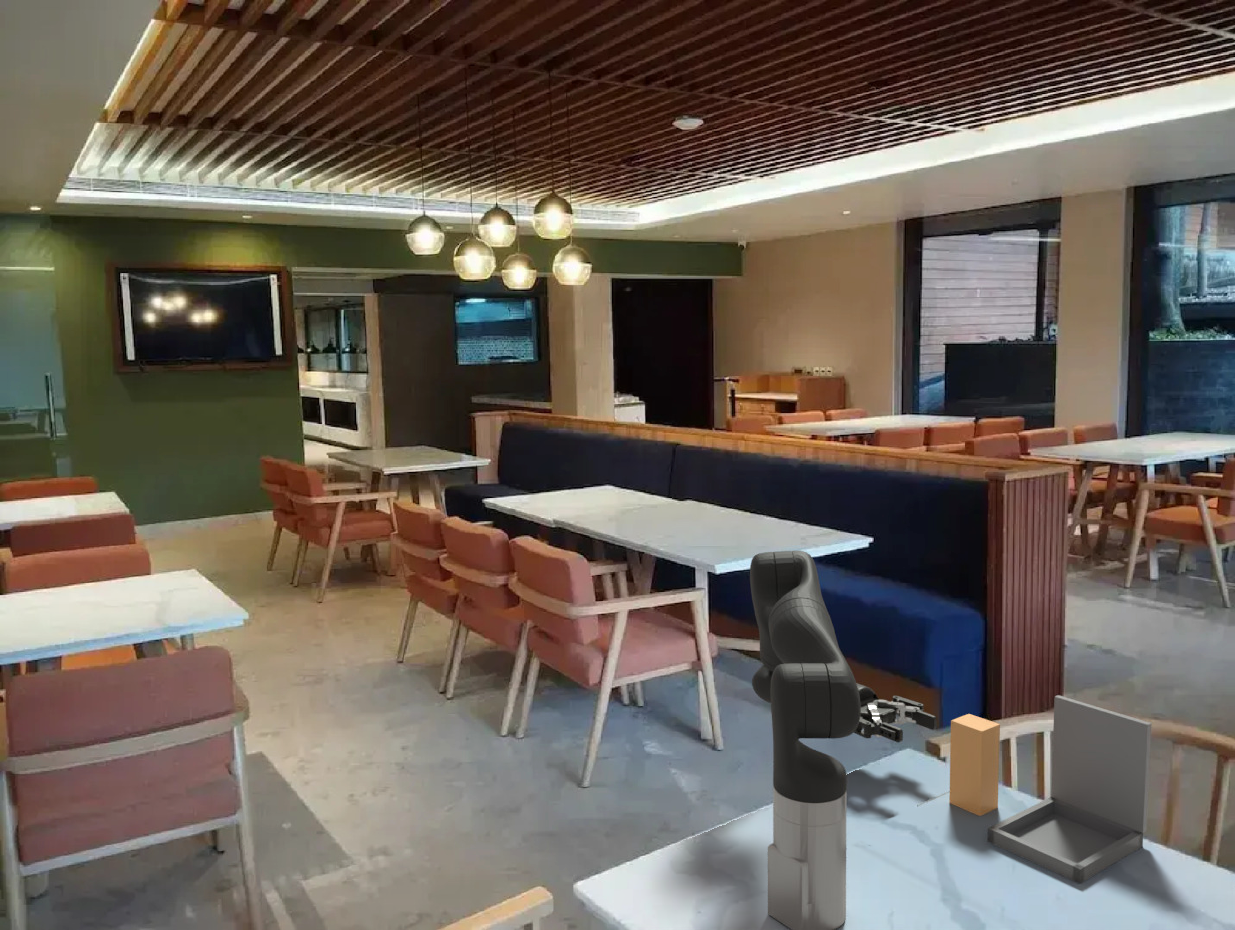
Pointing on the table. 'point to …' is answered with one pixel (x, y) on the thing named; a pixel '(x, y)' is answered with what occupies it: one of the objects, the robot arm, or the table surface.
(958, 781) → the block
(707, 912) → the table surface
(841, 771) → the robot arm
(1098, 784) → the case
